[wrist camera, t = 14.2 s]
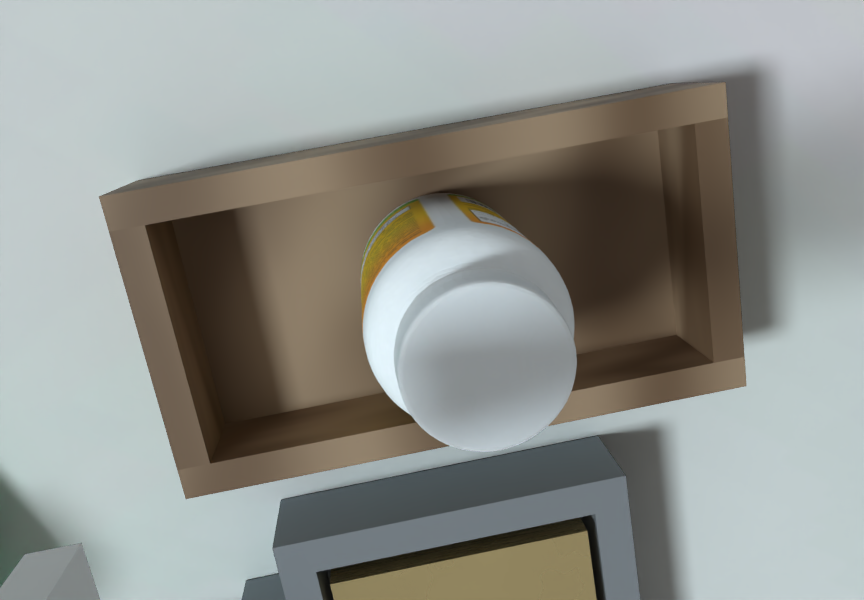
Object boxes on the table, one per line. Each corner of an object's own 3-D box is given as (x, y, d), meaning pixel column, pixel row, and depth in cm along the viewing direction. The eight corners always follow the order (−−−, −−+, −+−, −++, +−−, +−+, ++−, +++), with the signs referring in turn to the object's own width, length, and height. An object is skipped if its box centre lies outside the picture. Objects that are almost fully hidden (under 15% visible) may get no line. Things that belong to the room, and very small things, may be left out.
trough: (671, 83, 27) (725, 82, 23) (694, 346, 29) (746, 386, 25) (136, 180, 26) (99, 196, 22) (208, 443, 28) (185, 499, 24)
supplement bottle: (372, 359, 27) (382, 501, 18) (348, 203, 26) (345, 268, 16) (527, 335, 27) (618, 463, 18) (512, 180, 26) (601, 231, 17)
